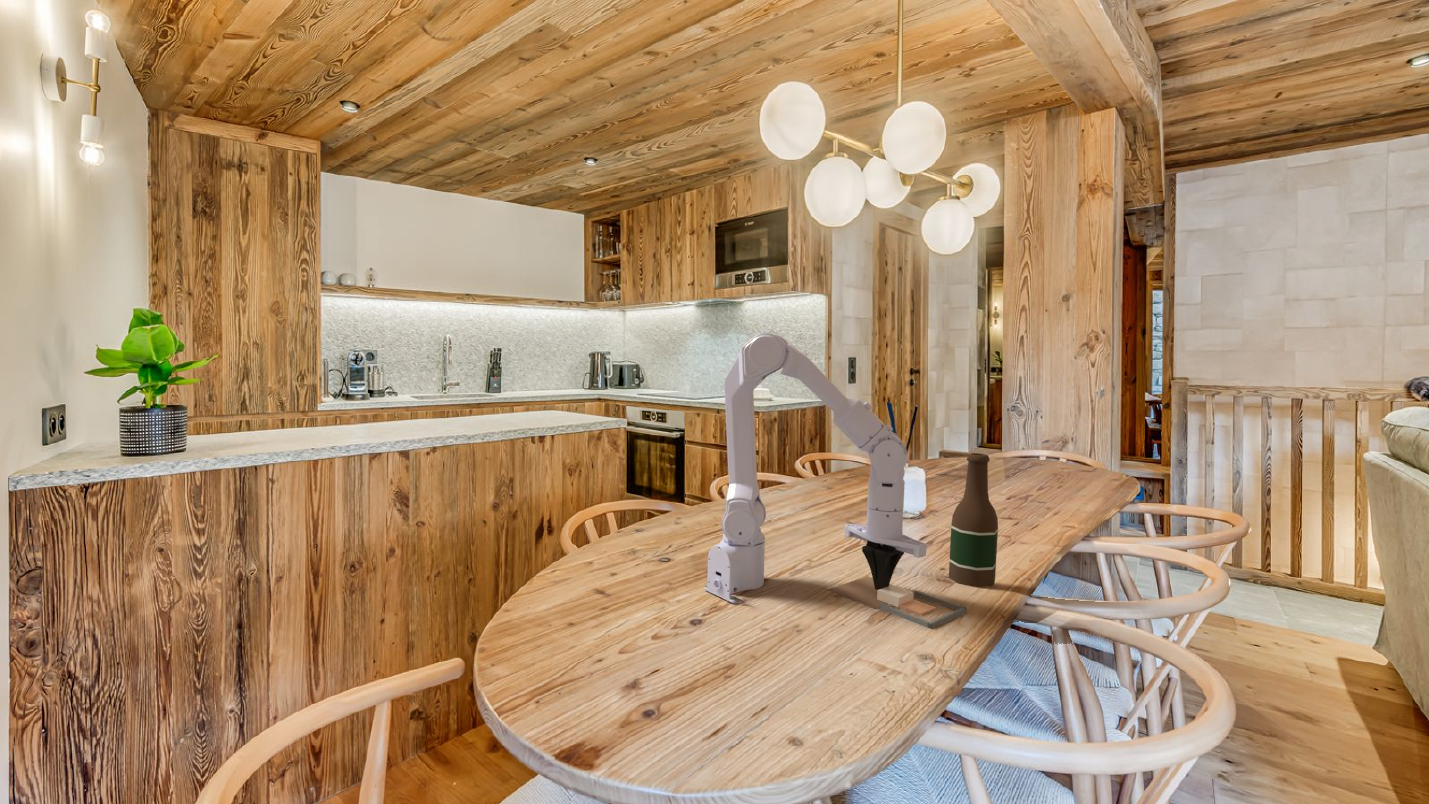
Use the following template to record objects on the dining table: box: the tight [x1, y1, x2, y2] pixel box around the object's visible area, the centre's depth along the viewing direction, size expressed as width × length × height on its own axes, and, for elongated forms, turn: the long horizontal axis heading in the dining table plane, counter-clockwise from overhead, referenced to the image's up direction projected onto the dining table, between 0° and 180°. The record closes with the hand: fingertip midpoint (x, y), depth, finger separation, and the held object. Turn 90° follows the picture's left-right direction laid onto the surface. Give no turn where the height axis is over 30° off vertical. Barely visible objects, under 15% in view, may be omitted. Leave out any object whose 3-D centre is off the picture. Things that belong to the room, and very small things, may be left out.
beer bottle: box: [948, 452, 999, 588], centre depth 113 cm, size 8×8×24 cm
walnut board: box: [826, 575, 914, 610], centre depth 107 cm, size 11×10×2 cm
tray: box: [878, 590, 968, 629], centre depth 100 cm, size 10×9×2 cm
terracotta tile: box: [898, 598, 937, 617], centre depth 100 cm, size 4×4×2 cm
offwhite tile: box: [877, 584, 914, 608], centre depth 103 cm, size 4×4×2 cm
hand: (881, 589), depth 106 cm, fingers closed
